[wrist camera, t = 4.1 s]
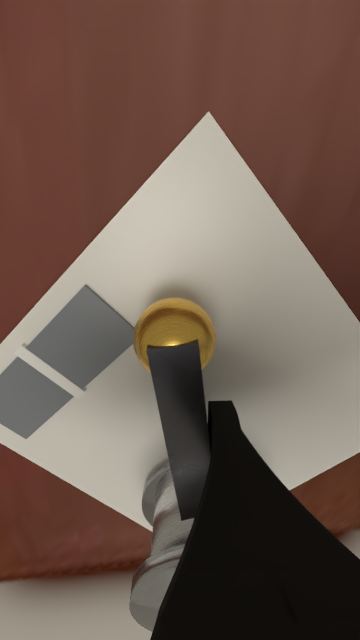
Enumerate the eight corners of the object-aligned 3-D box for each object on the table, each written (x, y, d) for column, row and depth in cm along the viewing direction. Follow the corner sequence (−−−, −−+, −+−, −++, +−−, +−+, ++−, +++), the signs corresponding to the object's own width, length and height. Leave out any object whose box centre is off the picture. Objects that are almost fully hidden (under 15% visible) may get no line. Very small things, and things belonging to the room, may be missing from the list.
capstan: (258, 523, 17) (291, 648, 12) (153, 532, 17) (144, 658, 12) (256, 274, 10) (328, 330, 5) (85, 296, 10) (9, 368, 6)
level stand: (403, 396, 15) (430, 419, 13) (181, 525, 20) (182, 553, 18) (204, 125, 10) (209, 108, 8) (-36, 390, 14) (-62, 412, 13)
